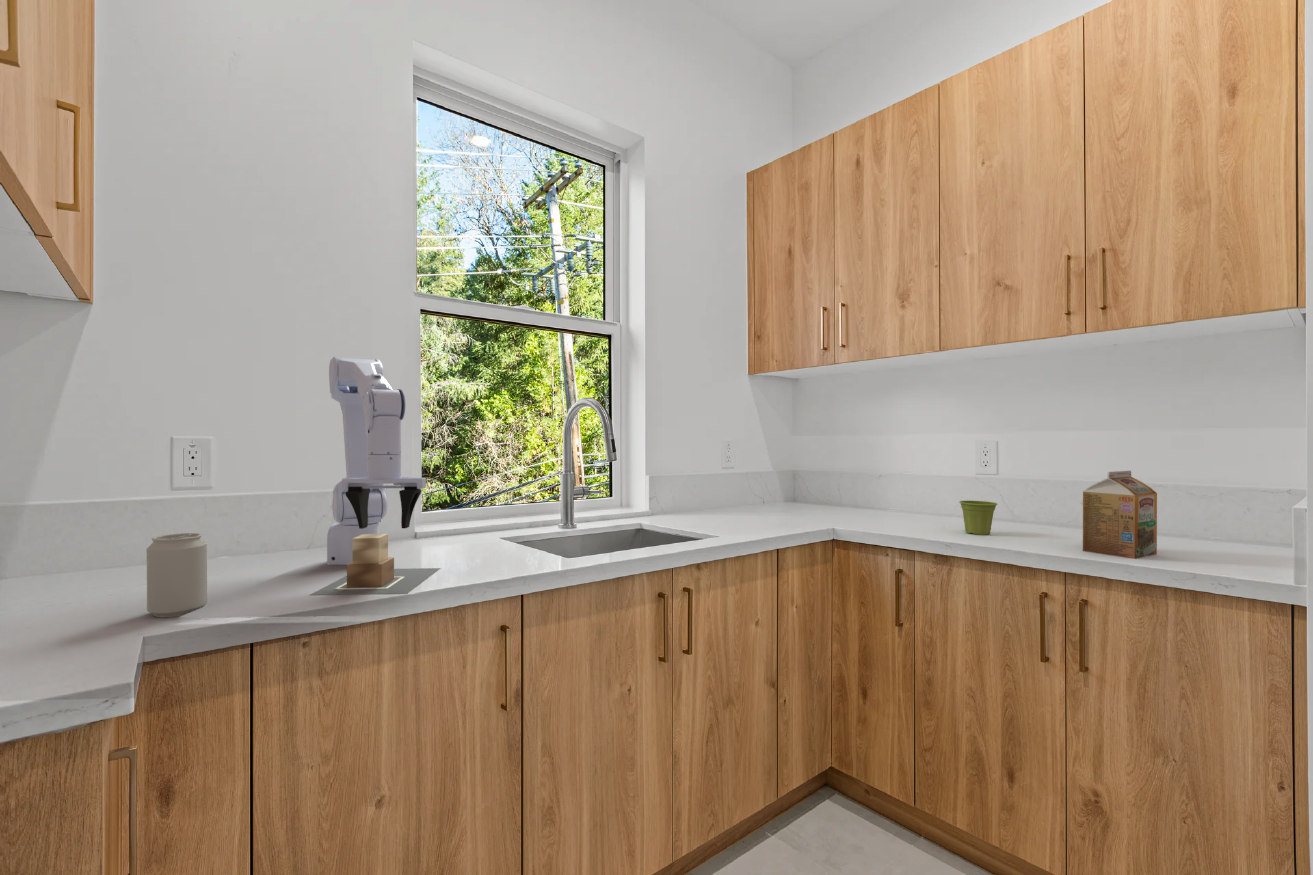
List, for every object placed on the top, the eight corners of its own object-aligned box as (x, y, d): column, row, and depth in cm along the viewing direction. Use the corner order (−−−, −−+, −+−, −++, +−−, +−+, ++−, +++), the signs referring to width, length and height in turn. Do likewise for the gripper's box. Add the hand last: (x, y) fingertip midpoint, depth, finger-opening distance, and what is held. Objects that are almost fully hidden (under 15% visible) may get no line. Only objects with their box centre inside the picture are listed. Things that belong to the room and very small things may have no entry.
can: (156, 608, 100) (155, 532, 100) (212, 603, 103) (212, 530, 103) (139, 621, 93) (138, 540, 93) (200, 615, 96) (199, 537, 96)
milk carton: (1134, 558, 139) (1134, 473, 139) (1082, 551, 148) (1083, 470, 148) (1156, 554, 145) (1157, 471, 144) (1105, 547, 154) (1105, 469, 154)
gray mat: (309, 599, 105) (309, 594, 105) (359, 573, 125) (359, 568, 125) (407, 598, 106) (407, 592, 106) (440, 572, 126) (440, 567, 126)
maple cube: (352, 563, 111) (352, 538, 111) (362, 558, 115) (362, 534, 115) (378, 563, 111) (378, 538, 111) (388, 558, 116) (388, 533, 115)
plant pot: (990, 531, 178) (990, 500, 178) (1002, 536, 169) (1002, 504, 169) (955, 530, 180) (955, 500, 180) (964, 535, 171) (964, 503, 171)
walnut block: (346, 587, 110) (346, 564, 110) (360, 579, 116) (360, 557, 116) (381, 586, 111) (381, 564, 110) (394, 578, 117) (394, 557, 116)
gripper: (334, 455, 112) (334, 531, 112) (417, 455, 112) (417, 530, 113) (351, 453, 119) (351, 525, 119) (429, 453, 119) (429, 525, 120)
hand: (384, 527), depth 116 cm, fingers open, 7 cm apart
